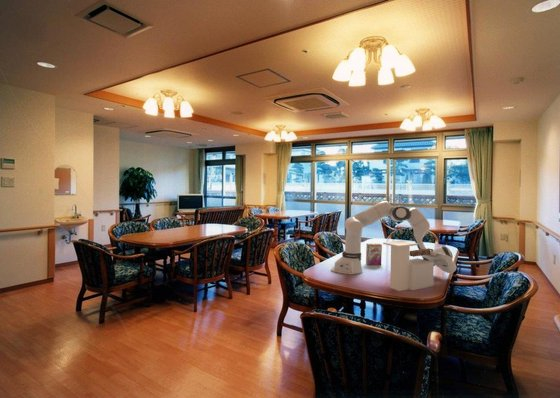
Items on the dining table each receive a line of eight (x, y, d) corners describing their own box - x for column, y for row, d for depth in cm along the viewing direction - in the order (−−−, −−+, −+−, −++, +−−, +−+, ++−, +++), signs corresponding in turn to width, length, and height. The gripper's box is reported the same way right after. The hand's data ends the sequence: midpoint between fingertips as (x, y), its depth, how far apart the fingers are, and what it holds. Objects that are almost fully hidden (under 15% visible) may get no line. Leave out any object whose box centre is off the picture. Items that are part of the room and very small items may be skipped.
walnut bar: (413, 256, 196) (413, 251, 196) (409, 255, 199) (409, 251, 199) (432, 253, 205) (432, 249, 205) (428, 252, 208) (428, 248, 207)
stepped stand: (397, 293, 185) (398, 245, 184) (382, 287, 196) (383, 242, 194) (433, 285, 199) (434, 241, 198) (416, 280, 210) (417, 238, 209)
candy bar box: (367, 265, 251) (368, 244, 250) (365, 263, 256) (366, 243, 255) (381, 265, 251) (382, 244, 251) (379, 263, 256) (379, 243, 256)
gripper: (426, 252, 220) (415, 243, 214) (455, 258, 202) (443, 249, 196) (423, 260, 219) (411, 252, 213) (451, 267, 201) (439, 258, 195)
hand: (426, 250), depth 204 cm, fingers closed on walnut bar, 3 cm apart
